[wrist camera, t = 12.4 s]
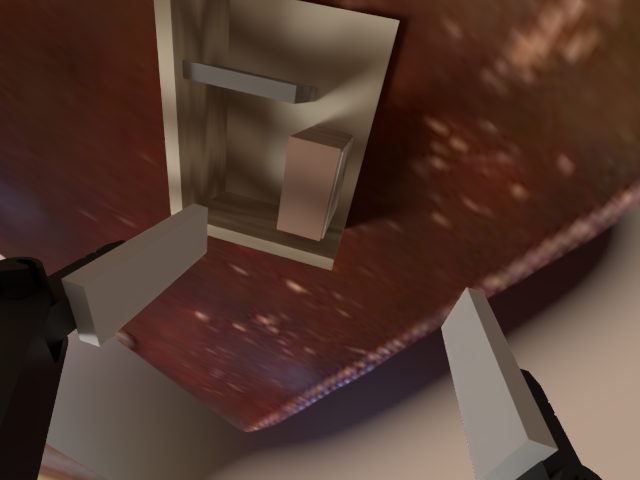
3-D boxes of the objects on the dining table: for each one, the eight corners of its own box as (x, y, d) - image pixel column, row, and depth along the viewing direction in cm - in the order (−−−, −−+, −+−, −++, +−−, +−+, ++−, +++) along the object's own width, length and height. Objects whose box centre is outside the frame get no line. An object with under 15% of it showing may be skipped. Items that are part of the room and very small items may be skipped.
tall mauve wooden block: (313, 125, 28) (289, 136, 21) (354, 135, 27) (343, 149, 21) (300, 199, 32) (276, 229, 25) (336, 209, 31) (321, 242, 24)
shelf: (223, -12, 25) (149, -60, 17) (399, 23, 24) (405, -12, 16) (220, 195, 35) (172, 224, 27) (344, 229, 33) (331, 270, 26)
